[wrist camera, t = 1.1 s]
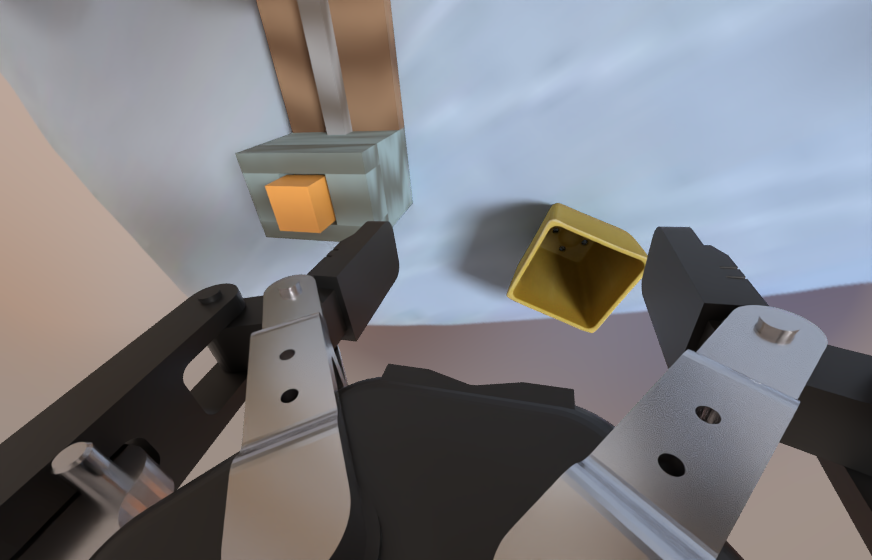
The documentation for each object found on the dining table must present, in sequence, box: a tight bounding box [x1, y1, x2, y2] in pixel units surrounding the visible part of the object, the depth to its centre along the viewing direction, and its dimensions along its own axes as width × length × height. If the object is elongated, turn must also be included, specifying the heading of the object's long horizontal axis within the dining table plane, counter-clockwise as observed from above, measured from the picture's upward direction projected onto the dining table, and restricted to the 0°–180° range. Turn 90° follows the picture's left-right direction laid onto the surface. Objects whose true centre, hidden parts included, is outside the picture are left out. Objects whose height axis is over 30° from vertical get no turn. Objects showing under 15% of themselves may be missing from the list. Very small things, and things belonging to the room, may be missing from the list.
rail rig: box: [235, 0, 413, 242], centre depth 29 cm, size 30×12×10 cm, turn 4°
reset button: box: [265, 175, 336, 233], centre depth 30 cm, size 4×4×3 cm
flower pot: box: [507, 203, 648, 333], centre depth 33 cm, size 9×9×9 cm
